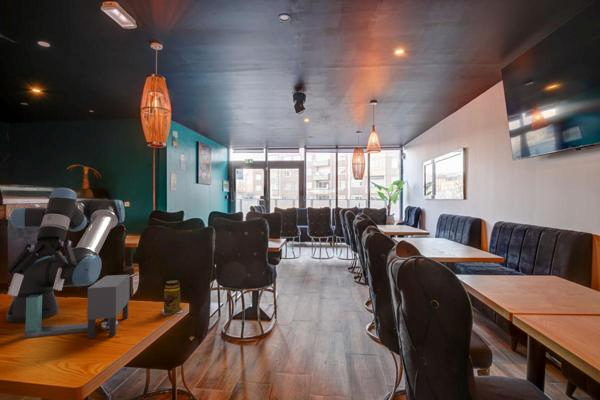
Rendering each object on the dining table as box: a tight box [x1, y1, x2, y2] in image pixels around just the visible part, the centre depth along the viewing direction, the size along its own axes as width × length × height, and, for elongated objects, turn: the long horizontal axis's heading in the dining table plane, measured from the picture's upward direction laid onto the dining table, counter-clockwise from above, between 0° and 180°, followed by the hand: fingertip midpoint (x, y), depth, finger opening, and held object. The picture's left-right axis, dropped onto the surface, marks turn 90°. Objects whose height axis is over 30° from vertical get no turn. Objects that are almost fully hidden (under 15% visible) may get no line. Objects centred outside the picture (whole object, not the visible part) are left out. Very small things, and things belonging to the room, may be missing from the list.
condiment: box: [161, 280, 183, 316], centre depth 124 cm, size 7×8×12 cm
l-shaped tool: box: [23, 295, 88, 339], centre depth 102 cm, size 18×5×12 cm, turn 107°
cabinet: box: [86, 274, 131, 340], centre depth 107 cm, size 18×8×16 cm, turn 17°
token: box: [100, 319, 119, 331], centre depth 106 cm, size 5×5×2 cm
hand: (34, 292), depth 94 cm, fingers open, 13 cm apart
